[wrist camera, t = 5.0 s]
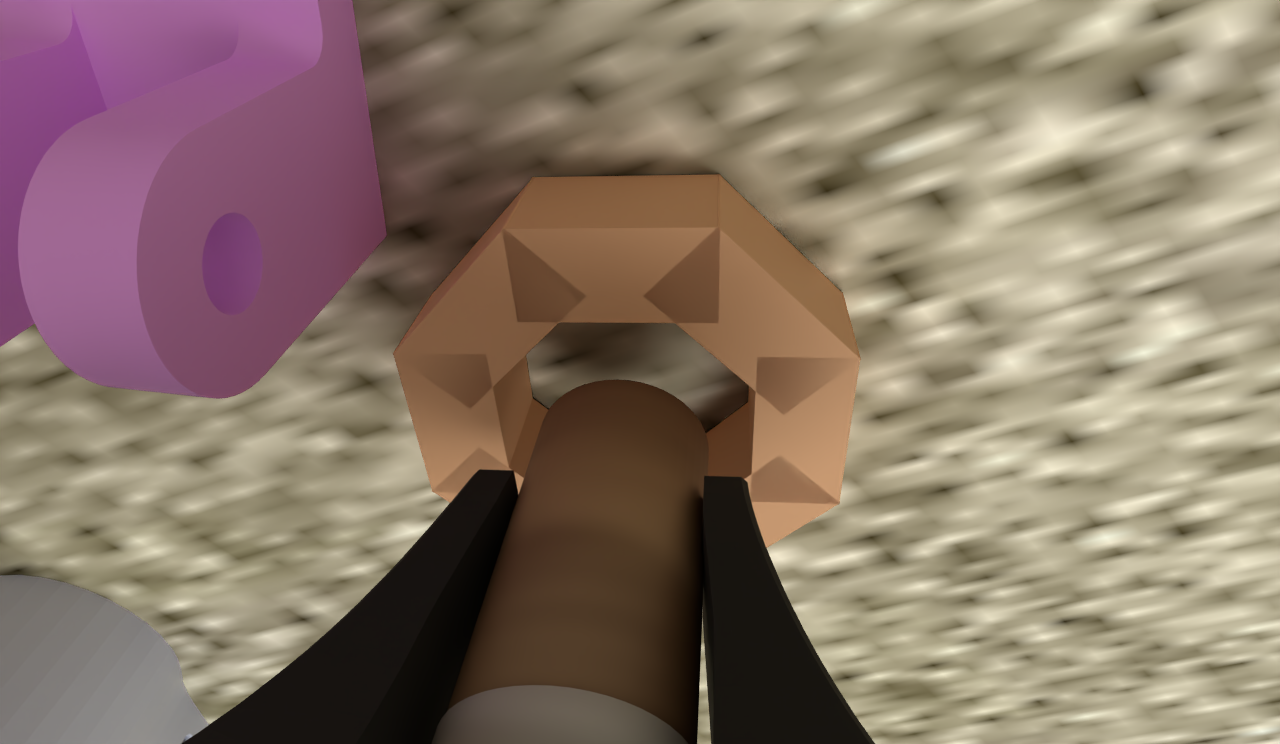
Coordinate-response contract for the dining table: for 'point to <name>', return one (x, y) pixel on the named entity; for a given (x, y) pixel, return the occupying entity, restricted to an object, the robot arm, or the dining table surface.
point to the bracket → (180, 183)
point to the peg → (595, 582)
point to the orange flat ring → (640, 293)
